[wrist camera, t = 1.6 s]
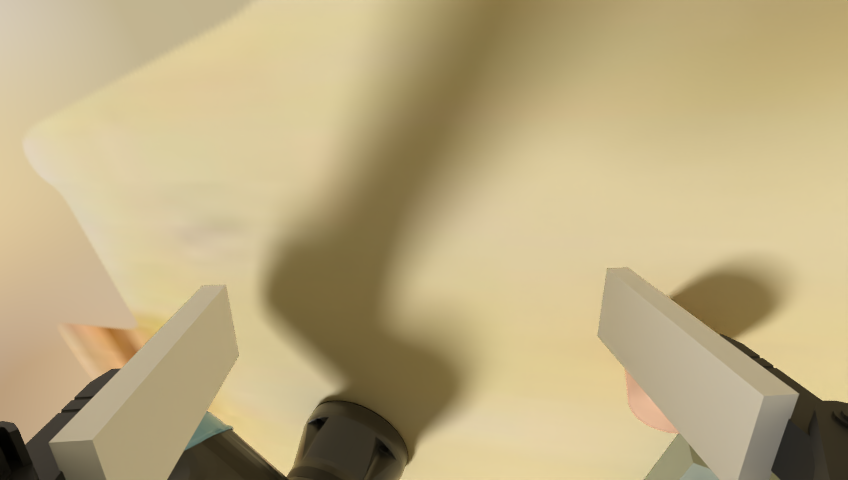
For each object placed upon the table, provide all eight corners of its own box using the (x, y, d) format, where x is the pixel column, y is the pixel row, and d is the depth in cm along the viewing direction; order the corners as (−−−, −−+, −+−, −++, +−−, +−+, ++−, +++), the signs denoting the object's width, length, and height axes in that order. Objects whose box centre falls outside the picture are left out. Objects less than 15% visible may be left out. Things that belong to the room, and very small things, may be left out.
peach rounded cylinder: (682, 378, 39) (699, 444, 33) (611, 355, 40) (615, 415, 34) (717, 327, 35) (743, 391, 29) (637, 304, 37) (647, 360, 31)
